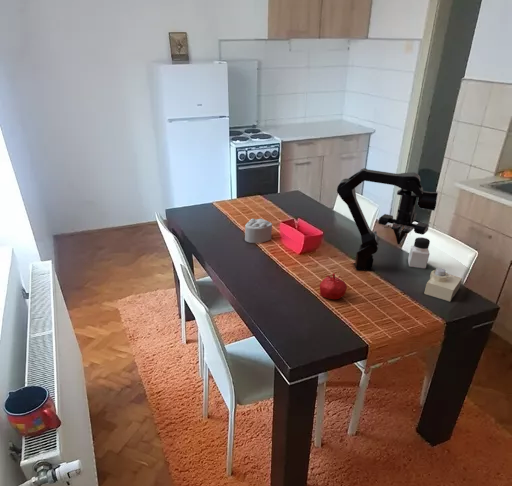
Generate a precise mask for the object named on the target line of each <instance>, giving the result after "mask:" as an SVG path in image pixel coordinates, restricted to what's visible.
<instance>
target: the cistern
mask: <svg viewBox="0 0 512 486" xmlns="http://www.w3.org/2000/svg"><path fill="white" fill-rule="evenodd" d="M435 272H436V269H434V270H432V271H431V272H430V274H429V279H428V281H427V282H426V284H425V288H424V295H427V296H430V297H434V298H437V299H439V300H443V301H446V302H451V301H452V300H453V298H454V297H455V295H457V292H458V291H459V290H460V286H461V283H462V280H463V277H461V276H457V275H453V274H450V273H448V272H447V271H446V272H445V276H438V275H436V274H435Z"/></svg>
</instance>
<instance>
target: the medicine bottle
mask: <svg viewBox="0 0 512 486" xmlns="http://www.w3.org/2000/svg"><path fill="white" fill-rule="evenodd" d="M430 243H431V241H430V239H429V238H427V237H424V236H423V237H422V236H418V237H416V238H415V239H414V243H413V245H411V246H410V250H409V254H408V258H407V262H408V267H409V268H417V269H427V265H428V261H429V258H430V250H429V247H430Z"/></svg>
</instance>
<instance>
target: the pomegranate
mask: <svg viewBox="0 0 512 486" xmlns="http://www.w3.org/2000/svg"><path fill="white" fill-rule="evenodd" d="M331 275H332V276H330V275H325V278H323V279H322V280H321V282H320V283H319V294H320V295H321V297H323V298H325V299H329V300H335V301H336V300H339V299H341V298H343V297H344V296H345V294H346V292H347V289H348V285H347V283H346V282H345V281H344V280H343V279H340V276H337V277H336V273H333V272H332V274H331Z"/></svg>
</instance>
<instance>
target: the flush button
mask: <svg viewBox="0 0 512 486" xmlns="http://www.w3.org/2000/svg"><path fill="white" fill-rule="evenodd" d="M435 270H436V272H435V274H436V275H438V276H445V272H446V273H447V270H446V269H445V268H443V267H437V268H436V269H435Z"/></svg>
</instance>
